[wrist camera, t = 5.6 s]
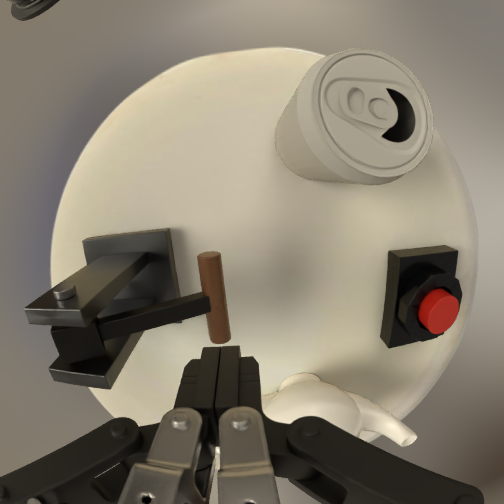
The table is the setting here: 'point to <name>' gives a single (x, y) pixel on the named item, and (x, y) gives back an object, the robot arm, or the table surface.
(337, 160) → the beverage can
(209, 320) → the lever
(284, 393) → the teapot
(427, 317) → the button
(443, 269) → the control block
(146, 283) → the bracket
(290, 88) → the table surface
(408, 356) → the table surface
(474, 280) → the table surface
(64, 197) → the table surface
